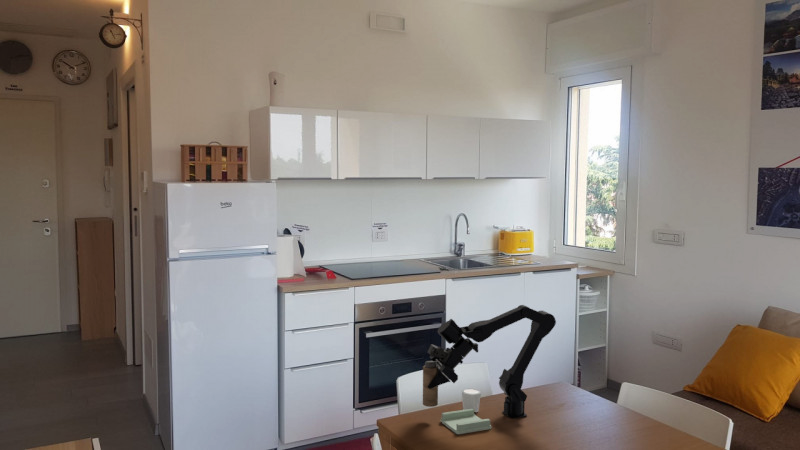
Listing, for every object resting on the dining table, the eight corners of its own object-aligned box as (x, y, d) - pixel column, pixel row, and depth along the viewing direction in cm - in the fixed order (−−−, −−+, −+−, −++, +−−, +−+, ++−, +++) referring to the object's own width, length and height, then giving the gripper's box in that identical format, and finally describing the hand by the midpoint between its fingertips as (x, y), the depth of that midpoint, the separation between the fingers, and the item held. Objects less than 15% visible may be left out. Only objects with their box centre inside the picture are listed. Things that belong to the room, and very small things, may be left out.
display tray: (473, 416, 216) (473, 408, 215) (491, 428, 205) (491, 419, 204) (440, 421, 210) (440, 413, 210) (457, 434, 199) (457, 425, 199)
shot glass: (479, 414, 218) (480, 394, 218) (460, 412, 219) (460, 393, 219) (481, 407, 225) (481, 389, 224) (462, 406, 226) (462, 387, 226)
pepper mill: (433, 400, 215) (433, 359, 214) (440, 405, 210) (440, 363, 210) (420, 402, 213) (420, 361, 212) (426, 407, 208) (427, 365, 208)
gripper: (435, 330, 220) (405, 362, 219) (448, 343, 202) (416, 378, 201) (456, 351, 222) (426, 383, 221) (471, 365, 204) (439, 400, 203)
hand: (426, 385), depth 211 cm, fingers closed on pepper mill, 5 cm apart
